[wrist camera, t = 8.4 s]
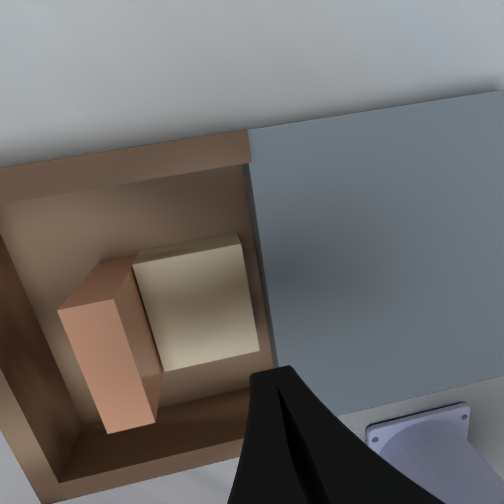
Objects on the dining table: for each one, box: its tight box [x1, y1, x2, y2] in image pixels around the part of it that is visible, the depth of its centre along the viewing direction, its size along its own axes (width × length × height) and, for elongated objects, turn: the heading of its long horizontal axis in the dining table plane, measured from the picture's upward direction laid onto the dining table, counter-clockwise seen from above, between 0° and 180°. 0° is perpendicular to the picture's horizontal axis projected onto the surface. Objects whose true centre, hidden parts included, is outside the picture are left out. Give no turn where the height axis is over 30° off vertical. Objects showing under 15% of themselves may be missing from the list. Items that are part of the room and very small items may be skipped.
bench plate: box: [242, 90, 504, 416], centre depth 18 cm, size 16×14×3 cm
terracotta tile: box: [57, 255, 164, 434], centre depth 15 cm, size 6×5×2 cm
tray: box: [0, 129, 274, 504], centre depth 16 cm, size 16×13×4 cm
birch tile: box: [132, 233, 260, 372], centre depth 17 cm, size 6×5×2 cm
